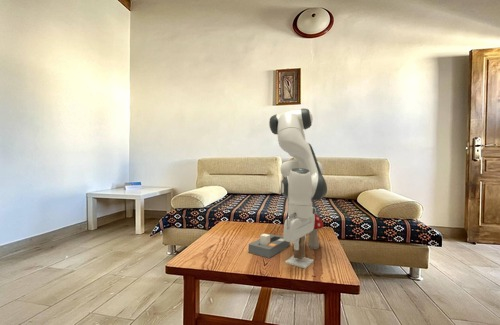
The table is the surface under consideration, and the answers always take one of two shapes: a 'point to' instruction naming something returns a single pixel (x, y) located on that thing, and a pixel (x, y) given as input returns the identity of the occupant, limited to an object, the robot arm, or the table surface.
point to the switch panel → (269, 246)
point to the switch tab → (264, 239)
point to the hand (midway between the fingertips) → (299, 247)
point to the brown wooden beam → (301, 252)
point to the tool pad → (299, 262)
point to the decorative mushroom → (315, 233)
